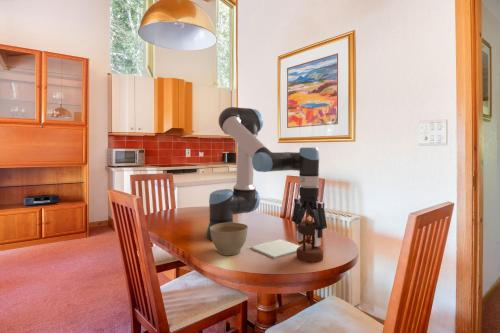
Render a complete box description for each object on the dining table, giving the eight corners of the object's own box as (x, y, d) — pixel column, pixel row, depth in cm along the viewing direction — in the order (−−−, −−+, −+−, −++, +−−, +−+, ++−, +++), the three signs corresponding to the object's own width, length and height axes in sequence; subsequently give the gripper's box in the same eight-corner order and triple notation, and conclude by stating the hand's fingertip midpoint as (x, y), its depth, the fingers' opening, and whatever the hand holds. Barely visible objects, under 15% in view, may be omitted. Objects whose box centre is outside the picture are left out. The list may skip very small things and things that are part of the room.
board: (250, 248, 132) (250, 246, 132) (280, 240, 143) (280, 239, 143) (274, 258, 119) (274, 256, 119) (305, 249, 130) (305, 247, 130)
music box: (308, 250, 129) (312, 205, 126) (330, 259, 121) (334, 211, 118) (284, 258, 119) (288, 210, 116) (307, 269, 111) (311, 217, 108)
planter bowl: (232, 243, 139) (232, 220, 138) (255, 252, 127) (255, 227, 126) (202, 251, 128) (202, 226, 128) (225, 261, 116) (225, 234, 116)
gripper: (283, 184, 124) (283, 237, 126) (324, 190, 107) (323, 251, 108) (295, 183, 129) (295, 234, 130) (337, 188, 111) (336, 247, 113)
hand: (308, 242), depth 119 cm, fingers closed on music box, 9 cm apart
